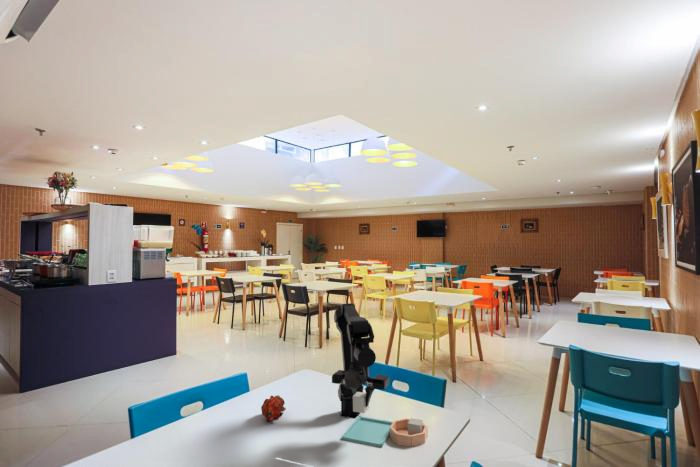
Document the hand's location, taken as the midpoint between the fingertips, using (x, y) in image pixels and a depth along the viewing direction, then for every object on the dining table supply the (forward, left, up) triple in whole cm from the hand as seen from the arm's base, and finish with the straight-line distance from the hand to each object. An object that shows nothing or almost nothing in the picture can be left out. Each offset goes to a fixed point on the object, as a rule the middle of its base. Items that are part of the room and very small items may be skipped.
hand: (360, 405), depth 123 cm
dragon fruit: (-37, +2, -11) cm, 38 cm away
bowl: (+14, +6, -11) cm, 19 cm away
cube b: (+17, +6, -10) cm, 20 cm away
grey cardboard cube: (0, 0, -1) cm, 1 cm away
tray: (+1, +5, -11) cm, 12 cm away
